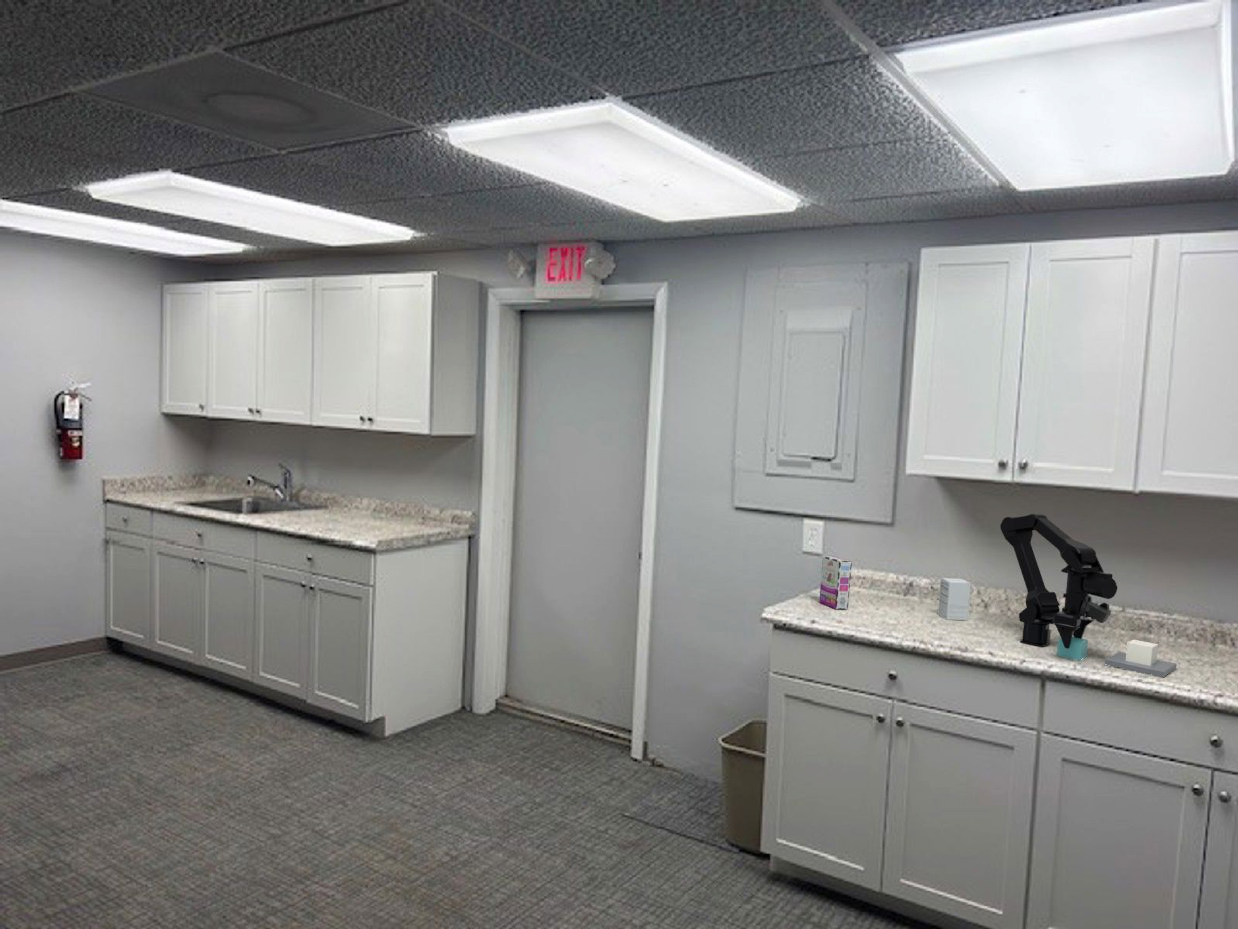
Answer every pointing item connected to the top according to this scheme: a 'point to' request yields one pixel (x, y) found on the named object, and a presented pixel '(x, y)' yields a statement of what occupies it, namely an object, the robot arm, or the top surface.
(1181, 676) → the top surface
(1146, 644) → the cream brick
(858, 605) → the top surface
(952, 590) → the supplement box
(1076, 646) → the teal brick
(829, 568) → the candy bar box
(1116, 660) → the baseplate
